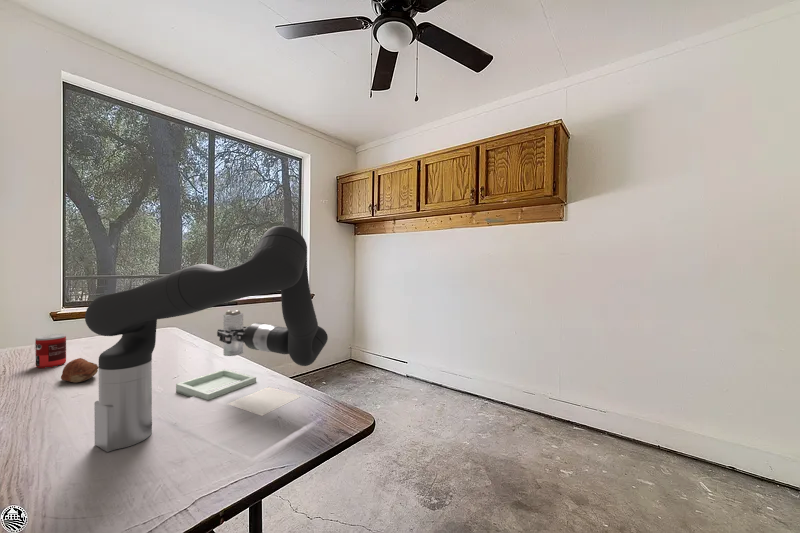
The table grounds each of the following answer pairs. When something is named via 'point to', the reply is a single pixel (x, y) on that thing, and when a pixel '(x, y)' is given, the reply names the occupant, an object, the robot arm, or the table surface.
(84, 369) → the bread roll
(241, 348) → the cup
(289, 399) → the board
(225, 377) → the tray
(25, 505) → the table surface
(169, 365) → the table surface
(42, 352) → the canned food
